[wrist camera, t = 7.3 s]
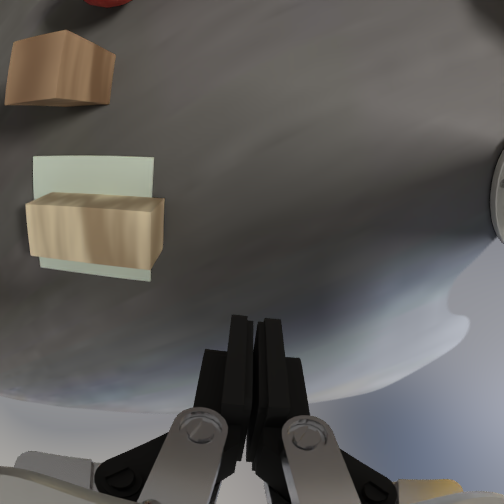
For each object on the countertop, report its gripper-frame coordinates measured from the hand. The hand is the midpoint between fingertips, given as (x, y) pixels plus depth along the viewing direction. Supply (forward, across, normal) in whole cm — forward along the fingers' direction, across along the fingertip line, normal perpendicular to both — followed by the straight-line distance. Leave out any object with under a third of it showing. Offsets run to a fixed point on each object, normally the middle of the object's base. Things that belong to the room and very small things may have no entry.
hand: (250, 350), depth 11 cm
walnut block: (+14, +14, -10) cm, 22 cm away
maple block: (+12, +7, 0) cm, 14 cm away
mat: (+14, +13, 0) cm, 19 cm away
